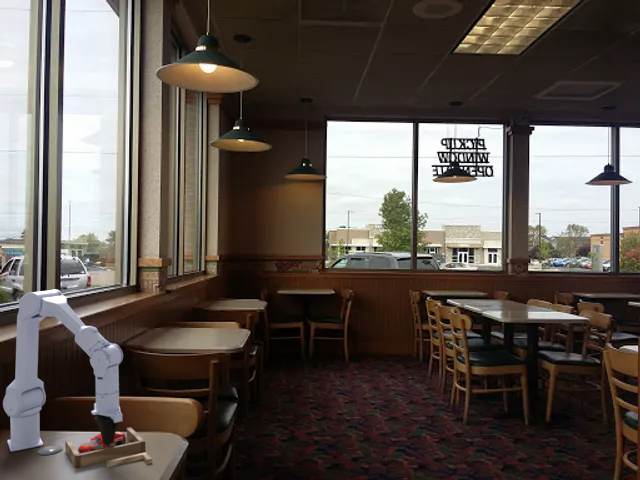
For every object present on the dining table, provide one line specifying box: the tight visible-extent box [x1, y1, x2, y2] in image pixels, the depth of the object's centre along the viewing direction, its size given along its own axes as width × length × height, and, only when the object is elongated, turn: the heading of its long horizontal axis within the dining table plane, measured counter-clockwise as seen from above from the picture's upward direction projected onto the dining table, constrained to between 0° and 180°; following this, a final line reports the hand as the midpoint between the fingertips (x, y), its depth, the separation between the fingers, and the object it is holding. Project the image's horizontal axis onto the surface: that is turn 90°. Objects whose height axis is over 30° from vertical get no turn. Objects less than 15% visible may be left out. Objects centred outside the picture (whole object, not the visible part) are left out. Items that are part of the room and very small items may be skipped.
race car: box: [77, 431, 127, 454], centre depth 152 cm, size 13×5×4 cm, turn 142°
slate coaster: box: [37, 445, 64, 456], centre depth 151 cm, size 6×6×1 cm
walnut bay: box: [64, 426, 146, 469], centre depth 150 cm, size 14×17×3 cm
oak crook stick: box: [105, 451, 153, 468], centre depth 142 cm, size 10×5×1 cm, turn 124°
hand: (108, 443), depth 147 cm, fingers closed
